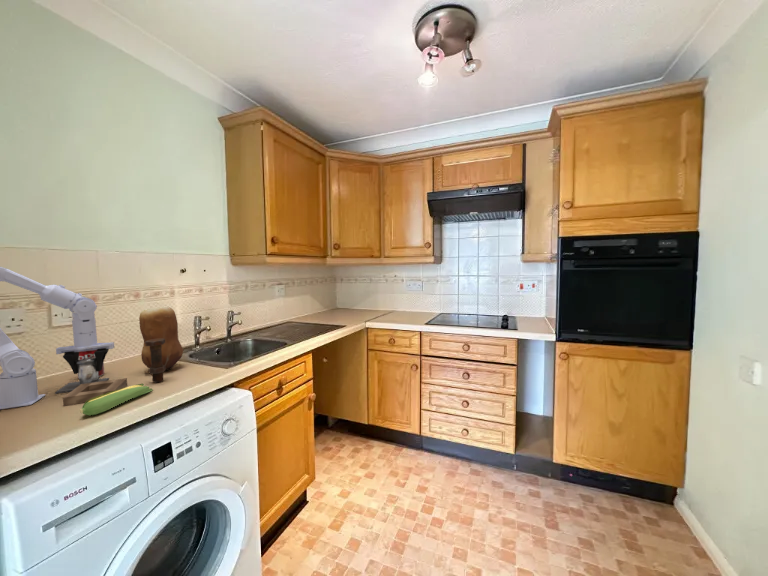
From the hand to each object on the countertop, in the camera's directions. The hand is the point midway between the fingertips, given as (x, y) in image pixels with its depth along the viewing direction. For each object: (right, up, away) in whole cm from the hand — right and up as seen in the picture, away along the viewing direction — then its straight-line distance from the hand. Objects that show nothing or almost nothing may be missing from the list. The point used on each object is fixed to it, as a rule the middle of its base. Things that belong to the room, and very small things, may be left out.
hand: (88, 371), depth 107 cm
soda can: (-8, -5, +10) cm, 14 cm away
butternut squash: (+14, -4, +17) cm, 22 cm away
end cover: (+1, -4, 0) cm, 4 cm away
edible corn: (+23, -6, -13) cm, 27 cm away
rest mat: (-2, -5, +1) cm, 6 cm away
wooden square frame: (+9, -6, -7) cm, 13 cm away
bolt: (+21, -5, +4) cm, 22 cm away
